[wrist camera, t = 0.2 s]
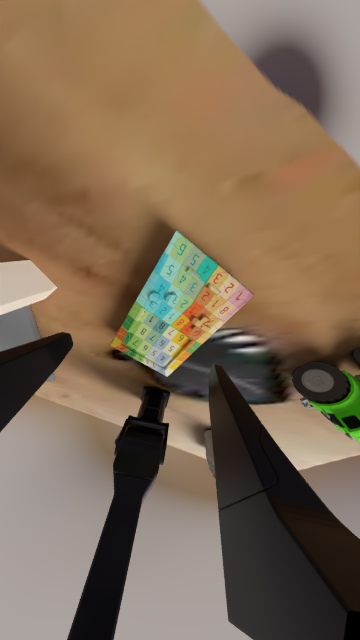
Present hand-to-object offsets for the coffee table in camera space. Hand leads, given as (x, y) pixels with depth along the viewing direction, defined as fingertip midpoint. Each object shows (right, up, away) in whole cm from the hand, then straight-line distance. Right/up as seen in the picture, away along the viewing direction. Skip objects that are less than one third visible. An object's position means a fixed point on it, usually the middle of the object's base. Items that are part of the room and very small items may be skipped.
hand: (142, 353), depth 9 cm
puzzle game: (+1, +3, +15) cm, 16 cm away
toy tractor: (+32, -7, +18) cm, 37 cm away
